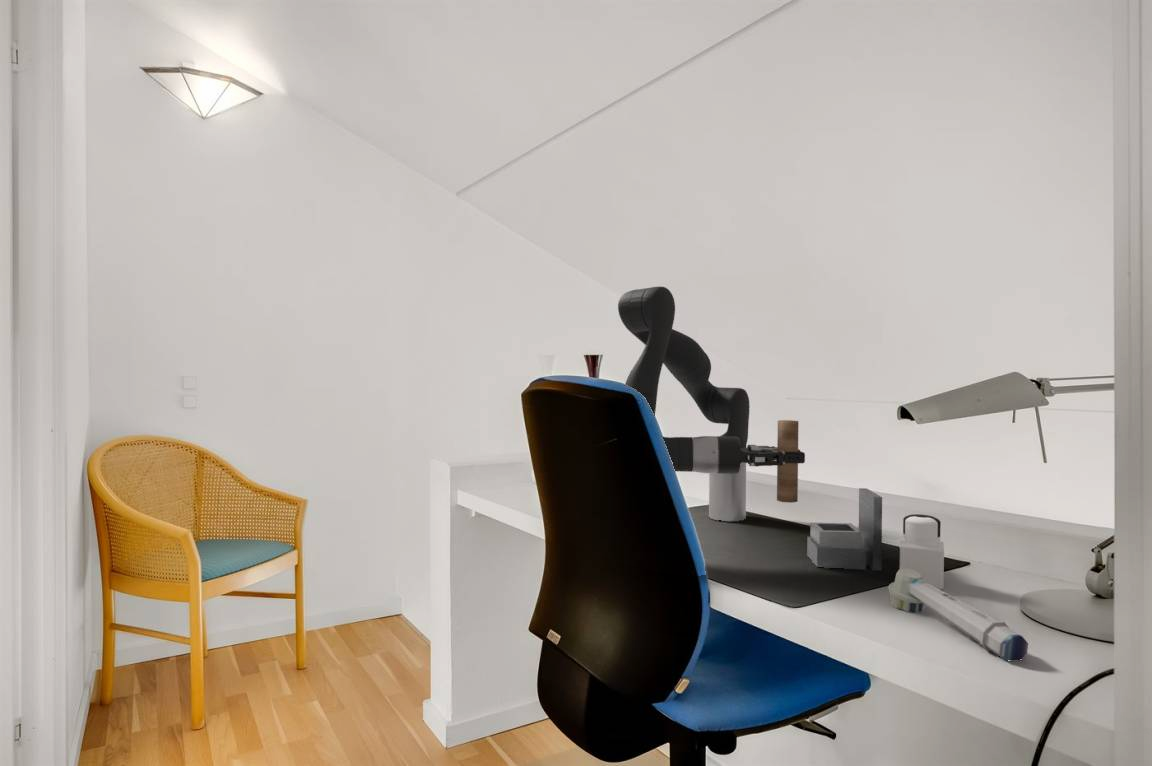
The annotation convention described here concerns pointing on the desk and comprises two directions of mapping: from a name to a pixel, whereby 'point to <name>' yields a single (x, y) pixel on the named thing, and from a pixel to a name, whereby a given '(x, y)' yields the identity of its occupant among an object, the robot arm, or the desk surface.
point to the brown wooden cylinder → (787, 471)
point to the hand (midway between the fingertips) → (801, 456)
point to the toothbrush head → (956, 614)
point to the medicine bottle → (923, 548)
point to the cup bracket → (850, 538)
